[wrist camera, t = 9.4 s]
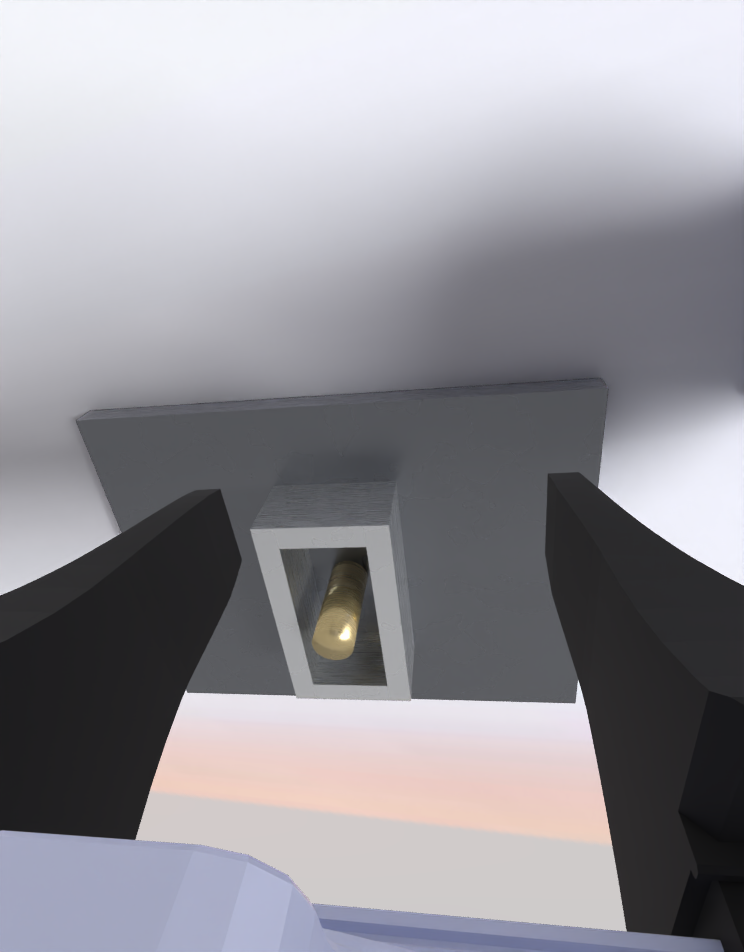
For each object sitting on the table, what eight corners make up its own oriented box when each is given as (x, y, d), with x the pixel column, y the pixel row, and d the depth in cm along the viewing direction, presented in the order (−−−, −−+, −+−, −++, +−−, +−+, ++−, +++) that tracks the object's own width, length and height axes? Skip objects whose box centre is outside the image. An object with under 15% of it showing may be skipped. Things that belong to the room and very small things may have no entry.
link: (273, 486, 22) (250, 529, 19) (396, 481, 21) (388, 525, 18) (311, 645, 26) (296, 698, 24) (414, 646, 25) (410, 700, 23)
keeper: (601, 378, 19) (645, 440, 15) (571, 686, 27) (594, 785, 23) (89, 410, 22) (4, 469, 18) (195, 677, 30) (152, 763, 26)
